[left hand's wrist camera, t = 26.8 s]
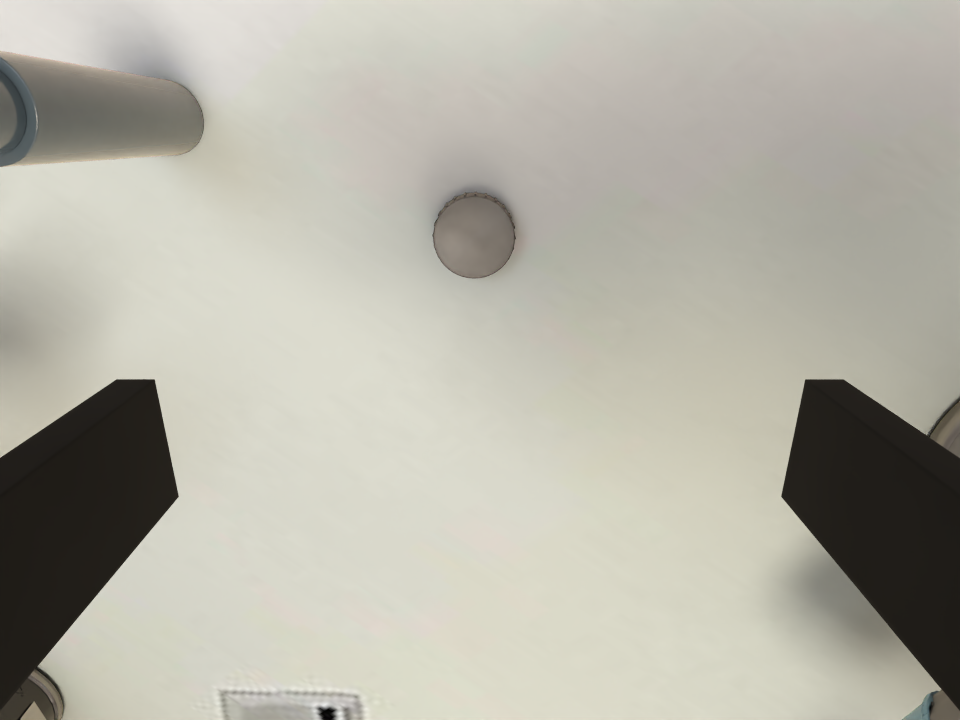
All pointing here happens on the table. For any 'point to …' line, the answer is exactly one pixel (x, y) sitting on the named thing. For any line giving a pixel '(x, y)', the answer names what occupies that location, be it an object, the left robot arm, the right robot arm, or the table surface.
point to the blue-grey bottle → (89, 113)
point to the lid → (474, 235)
